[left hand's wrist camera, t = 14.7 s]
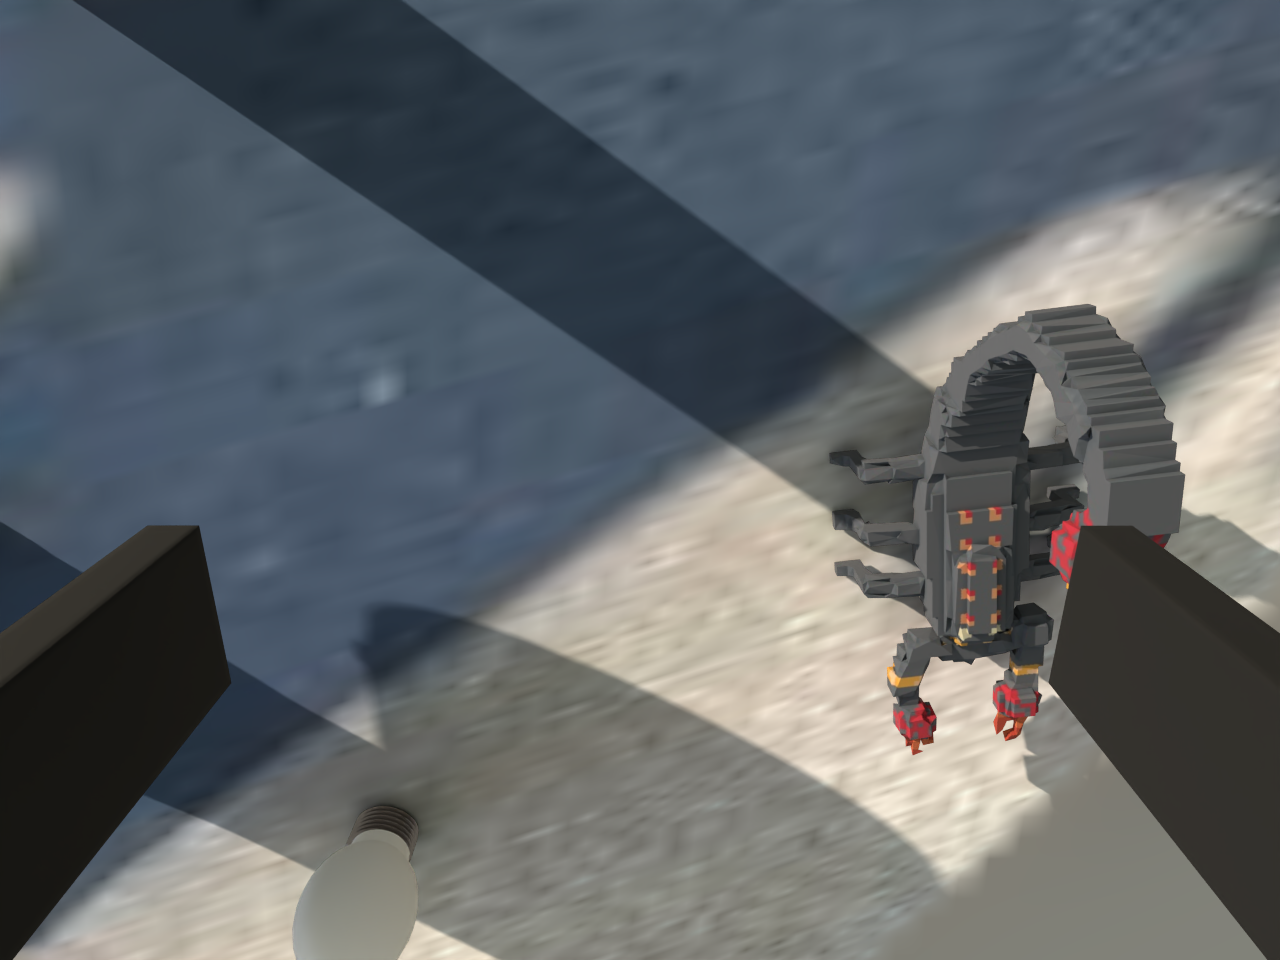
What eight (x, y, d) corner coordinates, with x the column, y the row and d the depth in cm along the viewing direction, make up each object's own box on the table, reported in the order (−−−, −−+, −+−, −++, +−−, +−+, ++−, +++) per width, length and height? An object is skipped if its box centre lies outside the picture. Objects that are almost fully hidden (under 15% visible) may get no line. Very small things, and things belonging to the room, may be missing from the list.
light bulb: (326, 848, 55) (254, 1004, 45) (353, 772, 53) (285, 918, 43) (423, 878, 56) (375, 1037, 46) (454, 804, 54) (411, 955, 44)
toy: (1089, 253, 42) (1401, 314, 25) (1059, 698, 51) (1271, 966, 34) (822, 286, 42) (946, 369, 25) (841, 720, 52) (941, 995, 35)
